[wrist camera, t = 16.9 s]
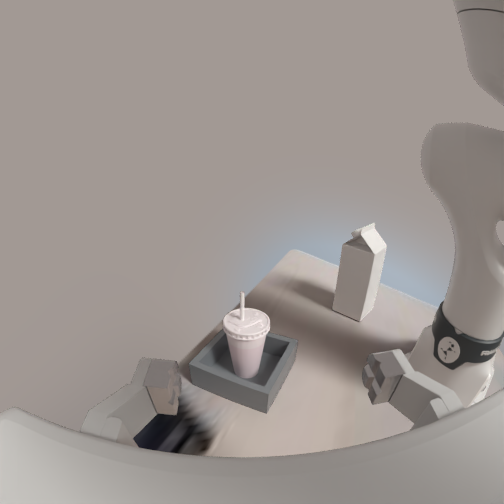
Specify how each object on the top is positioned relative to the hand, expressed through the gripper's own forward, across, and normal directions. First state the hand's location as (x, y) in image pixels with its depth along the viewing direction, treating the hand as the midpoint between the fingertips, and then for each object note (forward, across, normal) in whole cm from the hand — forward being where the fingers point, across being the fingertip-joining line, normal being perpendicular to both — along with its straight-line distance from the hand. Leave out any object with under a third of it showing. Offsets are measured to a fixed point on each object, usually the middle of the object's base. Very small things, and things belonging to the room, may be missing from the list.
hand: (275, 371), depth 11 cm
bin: (+22, +1, +24) cm, 32 cm away
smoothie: (+22, +1, +23) cm, 32 cm away
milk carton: (+39, -22, +24) cm, 51 cm away
